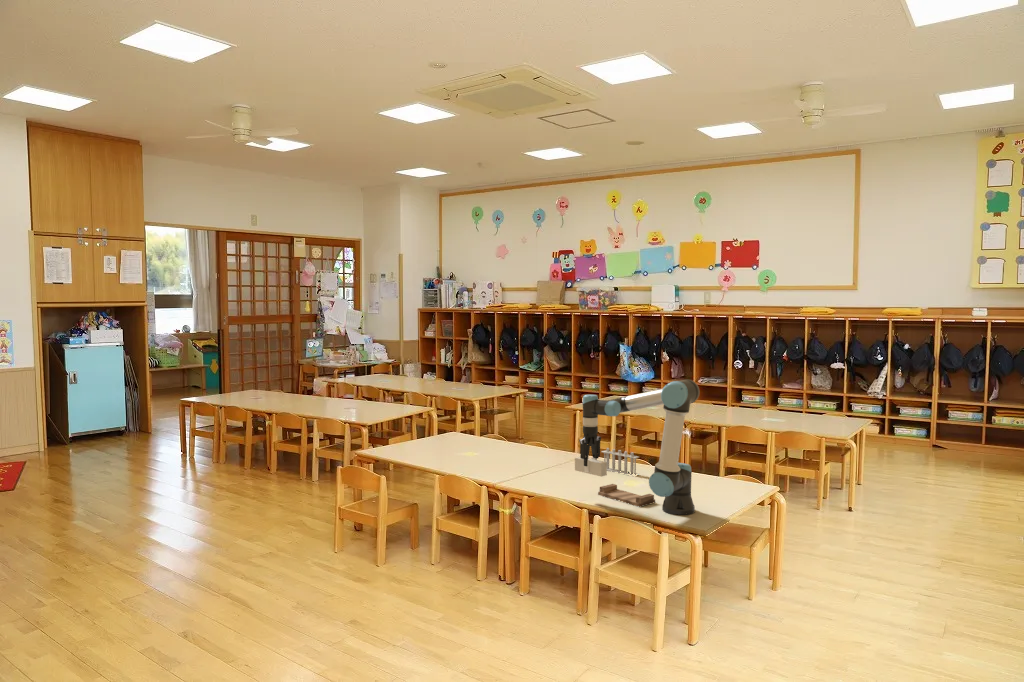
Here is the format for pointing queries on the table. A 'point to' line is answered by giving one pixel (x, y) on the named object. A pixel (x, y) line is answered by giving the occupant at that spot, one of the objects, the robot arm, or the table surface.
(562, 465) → the table surface
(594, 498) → the table surface
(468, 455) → the table surface
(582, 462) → the grey rectangular block
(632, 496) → the brown notched plank
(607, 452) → the test tube rack
